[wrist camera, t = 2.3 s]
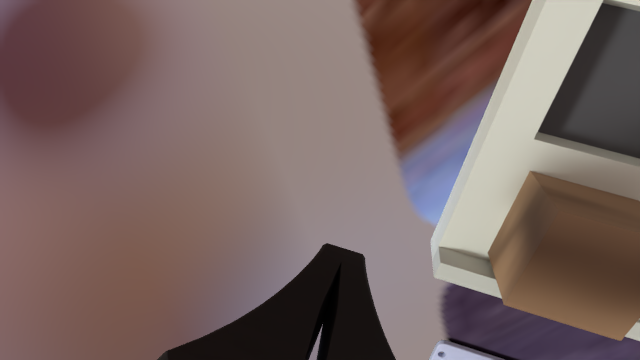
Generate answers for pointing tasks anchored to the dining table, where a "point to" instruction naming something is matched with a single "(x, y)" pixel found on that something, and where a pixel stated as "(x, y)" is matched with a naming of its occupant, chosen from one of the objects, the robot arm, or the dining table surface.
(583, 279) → the walnut block
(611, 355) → the dining table surface
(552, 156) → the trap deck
